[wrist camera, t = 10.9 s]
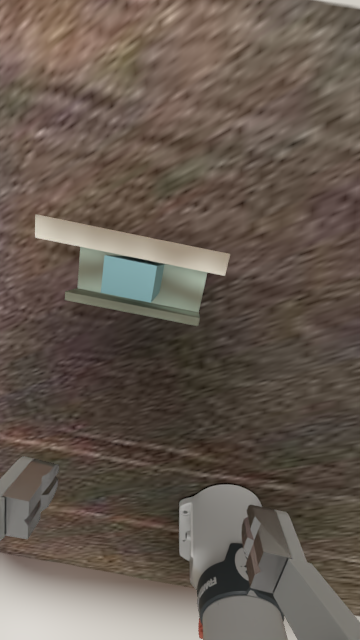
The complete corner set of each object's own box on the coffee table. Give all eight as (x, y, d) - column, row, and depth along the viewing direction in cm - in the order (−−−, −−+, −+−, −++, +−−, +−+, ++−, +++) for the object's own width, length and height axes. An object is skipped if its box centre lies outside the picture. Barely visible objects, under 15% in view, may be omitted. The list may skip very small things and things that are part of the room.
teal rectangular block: (158, 296, 29) (150, 307, 22) (120, 288, 29) (100, 297, 22) (164, 264, 28) (157, 266, 21) (124, 255, 28) (104, 255, 21)
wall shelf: (201, 312, 34) (209, 339, 23) (86, 289, 34) (33, 304, 22) (214, 255, 32) (230, 254, 21) (90, 230, 32) (35, 214, 20)
